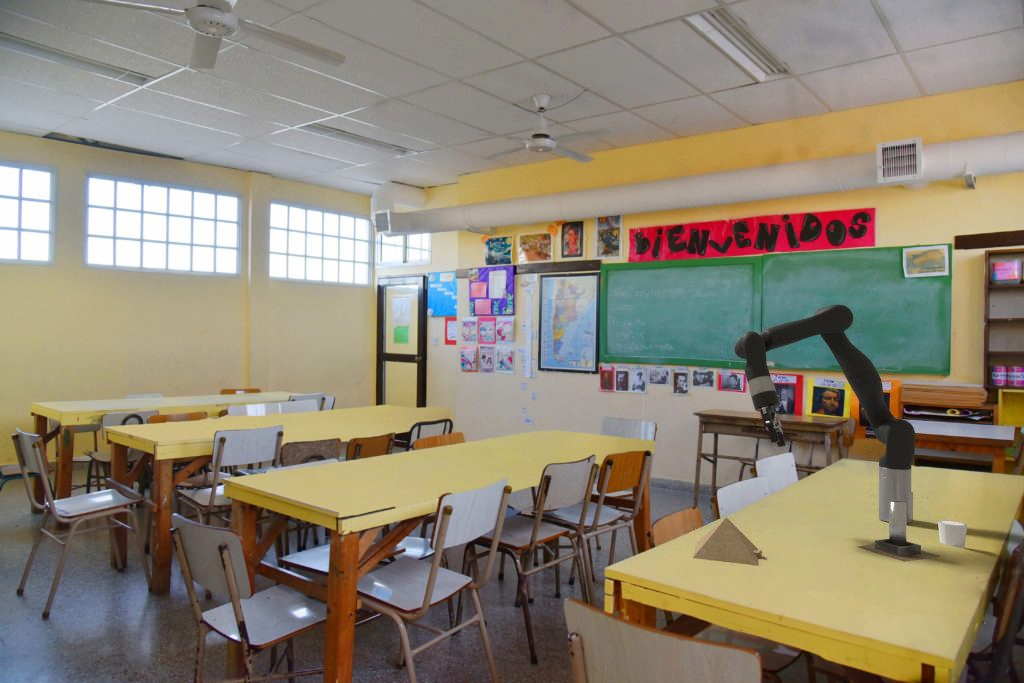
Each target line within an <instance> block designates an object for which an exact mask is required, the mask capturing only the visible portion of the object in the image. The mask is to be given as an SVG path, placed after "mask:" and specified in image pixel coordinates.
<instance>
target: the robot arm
mask: <svg viewBox="0 0 1024 683" xmlns="http://www.w3.org/2000/svg"><path fill="white" fill-rule="evenodd" d="M853 322H854V314H853V312H852V310H851V309H850V308H849V307H848V306H847V305H844V304H831V305H827V306H824V307H820V308H818V309H816V310H815V311H814V314H813V316H810V317H806V318H802V319H798V320H793V321H788V322H784V323H782V324H778V325H774V326H771V327H767V328H766V329H764V330H763V331H762V332H760V333H759V332H756V331H753V330H752V331H747V332H744V333H743V335H742V336H741V337H740V338H739V339H738V340H737V341H736V343H735V345H734V353H735V355H736V356H737V357H738V358H739V359H742V360H745V361H746V362H745V365H744V367H743V368H744V369H743V370H744V374H745V377H746V380H747V384H748V392H749V393H750V397H751V398H750V399H751V401H752V404H753V407H754V411H756V412H760V416H761V420H762V423H763V427H764V428H765V430H766V431H767V433H768V435H769V439H770V442H771V443H772V444H774V443H776V444H777V447H778V448H783V447H785V446H786V441H785V438H784V433H785V432H784V431H785V430H784V429H783V425H782V423H781V420H780V415H779V414H778V412H776V411H775V409H777V408H779V407H780V405H781V402H780V399H779V396H778V393H777V390H776V386H775V384H774V381H773V379H772V376H771V373H770V369H769V367H768V363H767V352H770V351H772V350H776V349H780V348H783V347H785V346H788V345H792V344H795V343H797V342H800V341H803V340H805V339H809V338H813V337H814V336H815V337H816V336H820V338H822V340H823V341H824V342H825V344H826V345H827V347H828V348H829V350H830V352H831V353H832V355H833V357H834V358H835V360H836V362H837V364H838V365H839V368H840V369H841V371H842V373H843V375H844V377H845V378H846V380H847V382H848V384H849V386H850V387H851V389H852V391H853V393H854V394H855V396H856V398H857V400H858V402H859V403H860V406H861V407H862V410H864V412H865V415H866V417H867V420H868V422H869V424H870V427H871V429H872V432H873V434H874V436H875V437H876V439H877V441H879V442H880V443H882V444H884V445H885V453H884V455H882V456H880V458H879V459H878V520H880V521H884V522H887V523H889V501H902V502H906V524H911V523H912V522H913V521H914V492H913V491H912V464H913V462H914V459H915V454H916V453H915V452H916V431H915V427H914V426H913V425H912V423H911V422H909V421H908V420H906V419H901V418H897V417H895V416H894V415H893V413H892V411H891V410H890V409H889V407H888V405H887V403H886V401H885V396H884V386H883V382H882V379H881V376H880V373H879V372H878V370H877V369H876V367H875V365H874V363H873V361H872V360H871V359H870V358H869V357H868V356H867V355H866V354H865V353H863V352H862V351H861V350H860V349H859V348H857V347H856V345H854V344H853V343H852V342H851V341H850V339H849V337H848V336H847V334H846V332H845V331H848V329H849V328H851V326H852V324H853Z"/></svg>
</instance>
